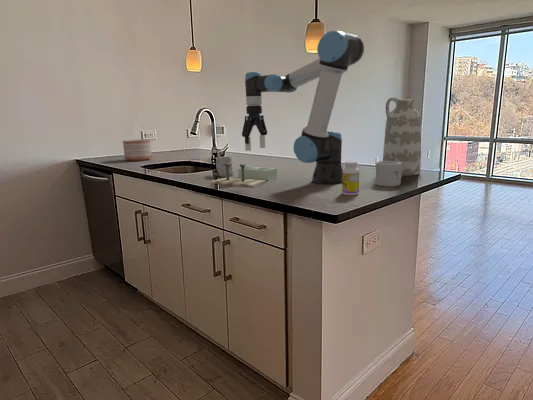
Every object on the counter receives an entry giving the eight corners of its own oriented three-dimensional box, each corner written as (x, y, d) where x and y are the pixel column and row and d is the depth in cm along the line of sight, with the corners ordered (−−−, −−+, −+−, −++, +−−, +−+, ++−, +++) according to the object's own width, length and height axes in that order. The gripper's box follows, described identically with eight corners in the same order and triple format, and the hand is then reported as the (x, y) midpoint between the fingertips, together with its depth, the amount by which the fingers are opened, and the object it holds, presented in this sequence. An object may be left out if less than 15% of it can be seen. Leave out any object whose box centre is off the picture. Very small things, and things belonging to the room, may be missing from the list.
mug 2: (387, 187, 167) (388, 164, 165) (370, 184, 176) (370, 161, 174) (410, 184, 173) (411, 161, 171) (392, 181, 182) (393, 159, 180)
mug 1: (225, 177, 204) (223, 154, 202) (211, 175, 213) (210, 153, 210) (236, 175, 210) (235, 153, 207) (222, 173, 218) (221, 151, 215)
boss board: (267, 182, 186) (266, 163, 184) (253, 187, 176) (252, 167, 174) (226, 179, 198) (225, 161, 196) (211, 183, 188) (210, 164, 186)
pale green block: (276, 178, 198) (276, 168, 197) (268, 180, 191) (268, 170, 190) (247, 176, 207) (246, 166, 206) (238, 178, 200) (238, 168, 199)
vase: (403, 169, 215) (407, 97, 206) (428, 174, 198) (433, 95, 189) (372, 172, 208) (374, 98, 199) (395, 177, 191) (398, 96, 182)
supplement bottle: (339, 192, 159) (340, 161, 157) (355, 192, 160) (356, 160, 157) (344, 196, 153) (345, 163, 150) (361, 195, 153) (362, 162, 151)
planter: (120, 161, 286) (117, 141, 283) (132, 158, 305) (130, 139, 301) (144, 161, 283) (142, 141, 280) (156, 158, 301) (154, 139, 298)
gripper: (260, 105, 203) (261, 146, 208) (232, 105, 183) (235, 151, 187) (273, 105, 200) (274, 147, 204) (246, 105, 179) (248, 151, 183)
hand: (255, 149), depth 196 cm, fingers open, 13 cm apart
